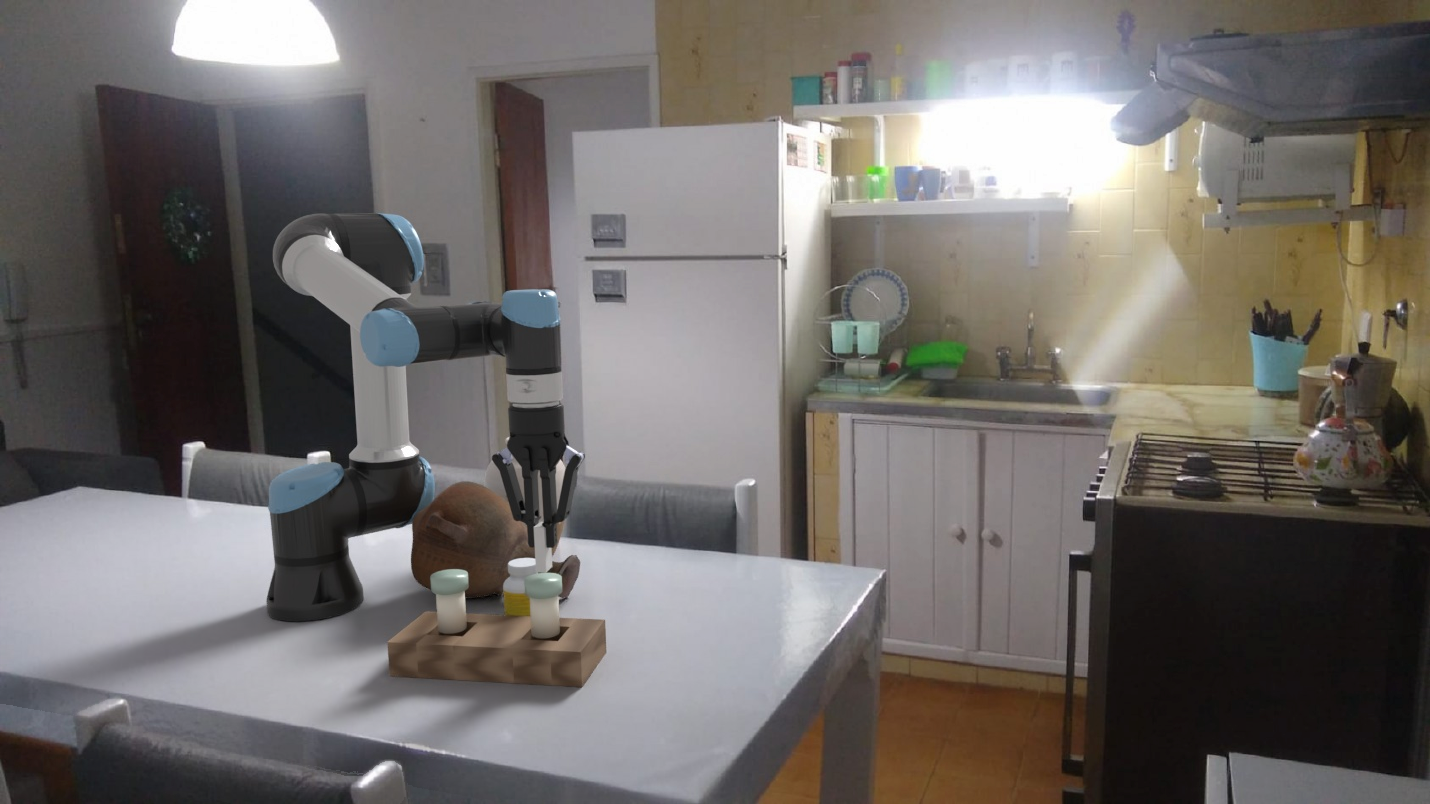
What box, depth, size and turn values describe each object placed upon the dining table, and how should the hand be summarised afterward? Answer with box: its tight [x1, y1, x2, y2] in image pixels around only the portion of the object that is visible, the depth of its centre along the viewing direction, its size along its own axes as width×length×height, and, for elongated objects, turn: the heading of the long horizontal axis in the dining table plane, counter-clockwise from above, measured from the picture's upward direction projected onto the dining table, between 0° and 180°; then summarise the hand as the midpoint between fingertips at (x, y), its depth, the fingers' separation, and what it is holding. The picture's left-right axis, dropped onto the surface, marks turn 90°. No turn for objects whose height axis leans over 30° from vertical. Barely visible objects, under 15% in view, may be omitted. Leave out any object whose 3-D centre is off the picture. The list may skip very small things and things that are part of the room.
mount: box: [386, 611, 607, 688], centre depth 149 cm, size 28×12×5 cm, turn 80°
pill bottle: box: [503, 558, 538, 616], centre depth 159 cm, size 6×6×12 cm
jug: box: [410, 480, 581, 599], centre depth 176 cm, size 20×20×30 cm
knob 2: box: [524, 573, 562, 638], centre depth 146 cm, size 5×5×8 cm
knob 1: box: [430, 569, 469, 634], centre depth 149 cm, size 5×5×8 cm
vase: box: [483, 436, 566, 556], centre depth 199 cm, size 16×16×23 cm
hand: (544, 569), depth 146 cm, fingers closed
